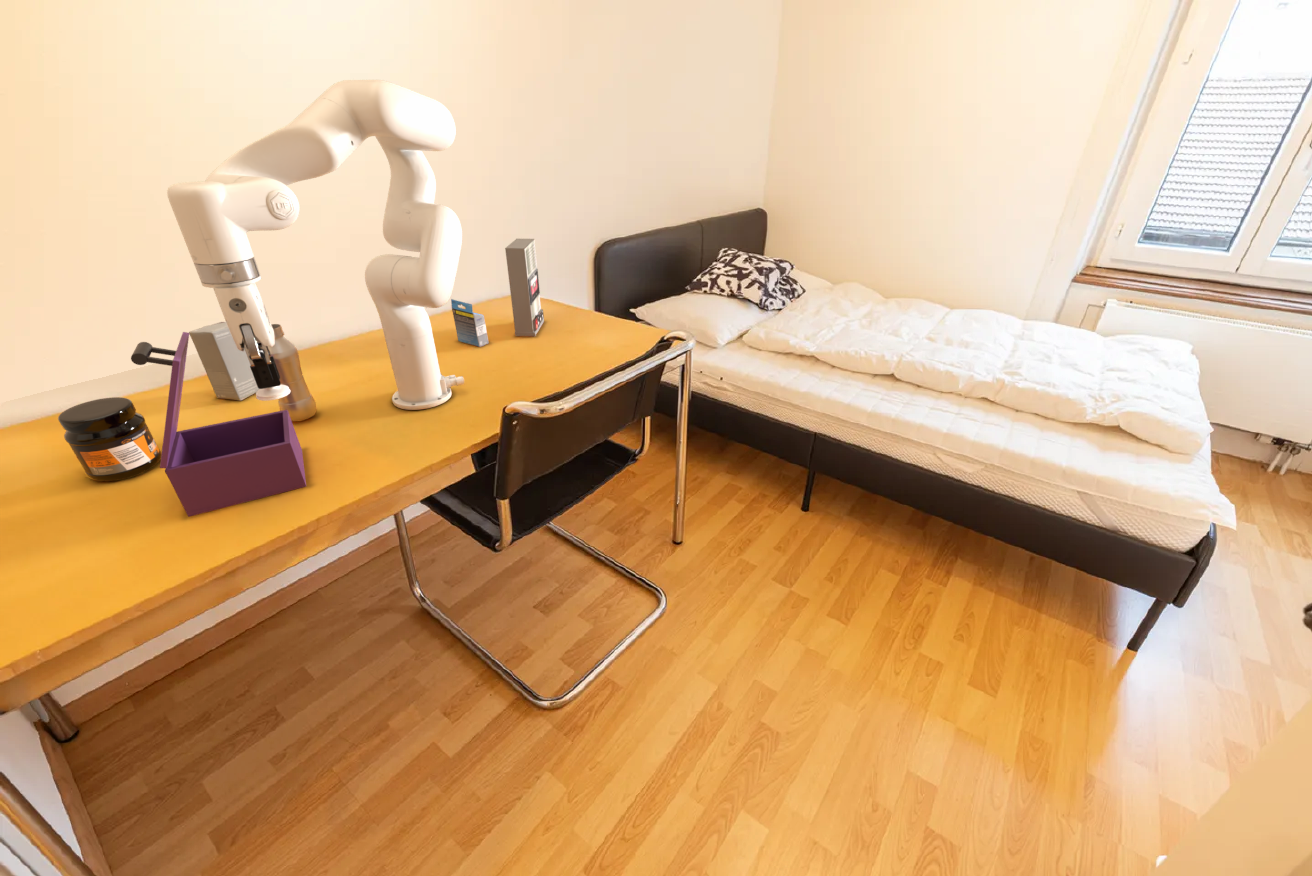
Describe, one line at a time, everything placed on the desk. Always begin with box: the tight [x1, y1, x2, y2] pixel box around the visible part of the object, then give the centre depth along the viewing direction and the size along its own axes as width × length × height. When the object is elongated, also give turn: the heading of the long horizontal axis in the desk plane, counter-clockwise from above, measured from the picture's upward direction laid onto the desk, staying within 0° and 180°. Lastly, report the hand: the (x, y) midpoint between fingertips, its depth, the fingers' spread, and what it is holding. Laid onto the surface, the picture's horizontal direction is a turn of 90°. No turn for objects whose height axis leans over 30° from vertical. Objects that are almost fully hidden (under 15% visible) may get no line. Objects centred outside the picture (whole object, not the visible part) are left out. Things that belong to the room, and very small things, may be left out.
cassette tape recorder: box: [504, 238, 545, 338], centre depth 163 cm, size 14×6×25 cm, turn 179°
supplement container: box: [57, 396, 162, 482], centre depth 98 cm, size 10×10×12 cm
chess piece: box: [255, 344, 290, 402], centre depth 92 cm, size 5×5×10 cm
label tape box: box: [450, 298, 490, 348], centre depth 155 cm, size 9×4×12 cm, turn 58°
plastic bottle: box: [268, 323, 318, 422], centre depth 114 cm, size 6×7×20 cm
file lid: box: [130, 331, 190, 469], centre depth 86 cm, size 18×14×6 cm
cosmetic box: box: [188, 321, 260, 401], centre depth 125 cm, size 8×7×16 cm
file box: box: [164, 410, 307, 517], centre depth 96 cm, size 17×14×9 cm
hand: (269, 382), depth 93 cm, fingers closed on chess piece
